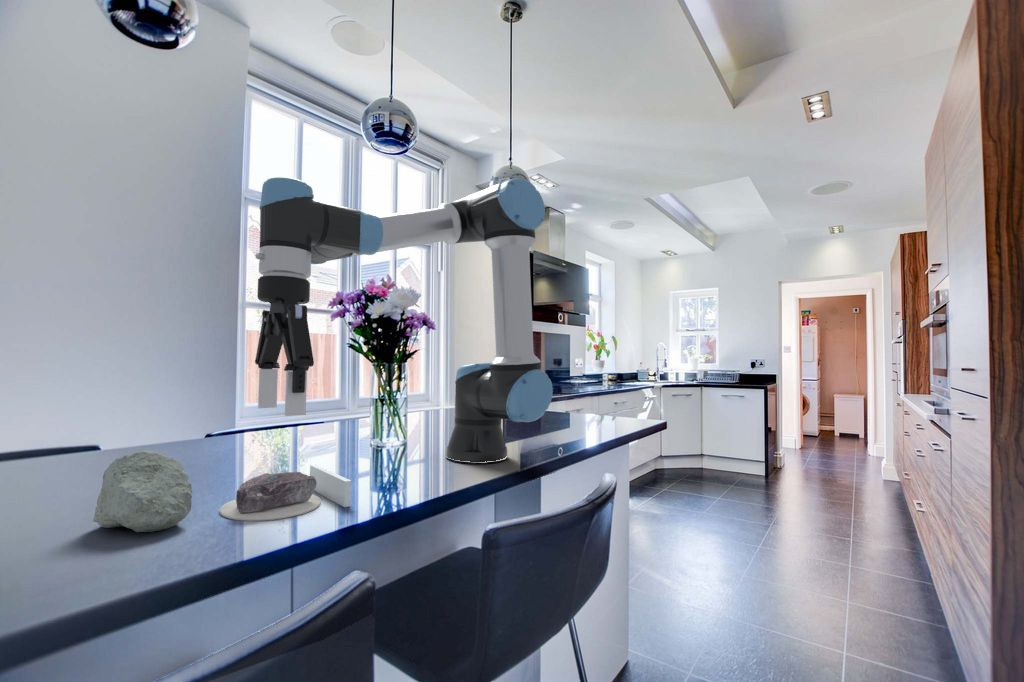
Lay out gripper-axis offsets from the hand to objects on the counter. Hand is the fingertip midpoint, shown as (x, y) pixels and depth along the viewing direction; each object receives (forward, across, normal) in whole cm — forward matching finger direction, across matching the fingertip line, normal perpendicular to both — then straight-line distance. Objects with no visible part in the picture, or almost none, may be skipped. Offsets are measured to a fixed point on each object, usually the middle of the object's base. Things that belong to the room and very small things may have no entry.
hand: (280, 411), depth 76 cm
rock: (+14, 0, 0) cm, 15 cm away
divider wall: (+15, 0, +8) cm, 17 cm away
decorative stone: (+15, -1, -17) cm, 22 cm away
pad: (+15, 0, -1) cm, 15 cm away
